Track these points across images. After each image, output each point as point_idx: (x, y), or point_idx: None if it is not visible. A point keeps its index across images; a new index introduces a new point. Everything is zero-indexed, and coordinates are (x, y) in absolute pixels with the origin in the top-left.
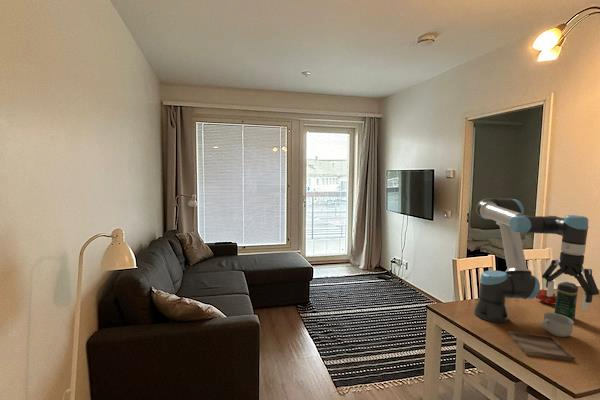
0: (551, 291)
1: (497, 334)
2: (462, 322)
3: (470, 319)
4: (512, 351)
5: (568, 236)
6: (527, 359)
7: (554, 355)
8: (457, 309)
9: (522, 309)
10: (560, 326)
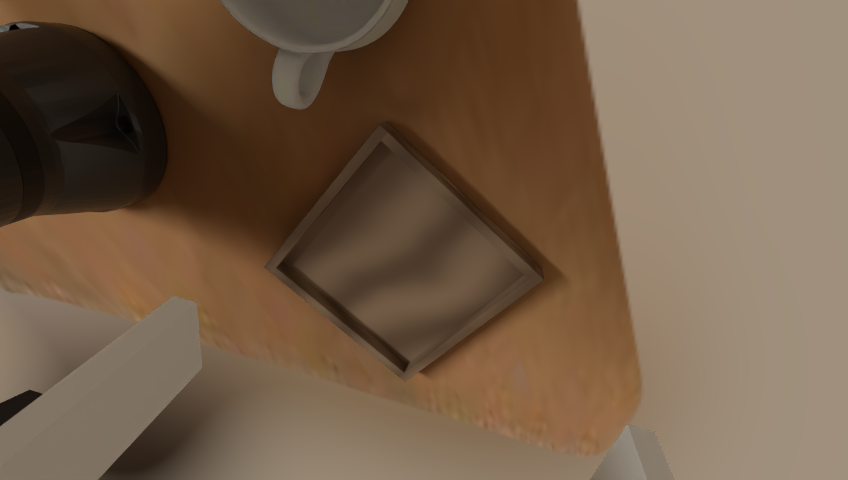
0: (142, 383)
1: (260, 296)
2: (144, 312)
3: (120, 256)
4: (374, 379)
5: None
6: (430, 391)
7: (481, 324)
8: None
9: None
10: (367, 36)
